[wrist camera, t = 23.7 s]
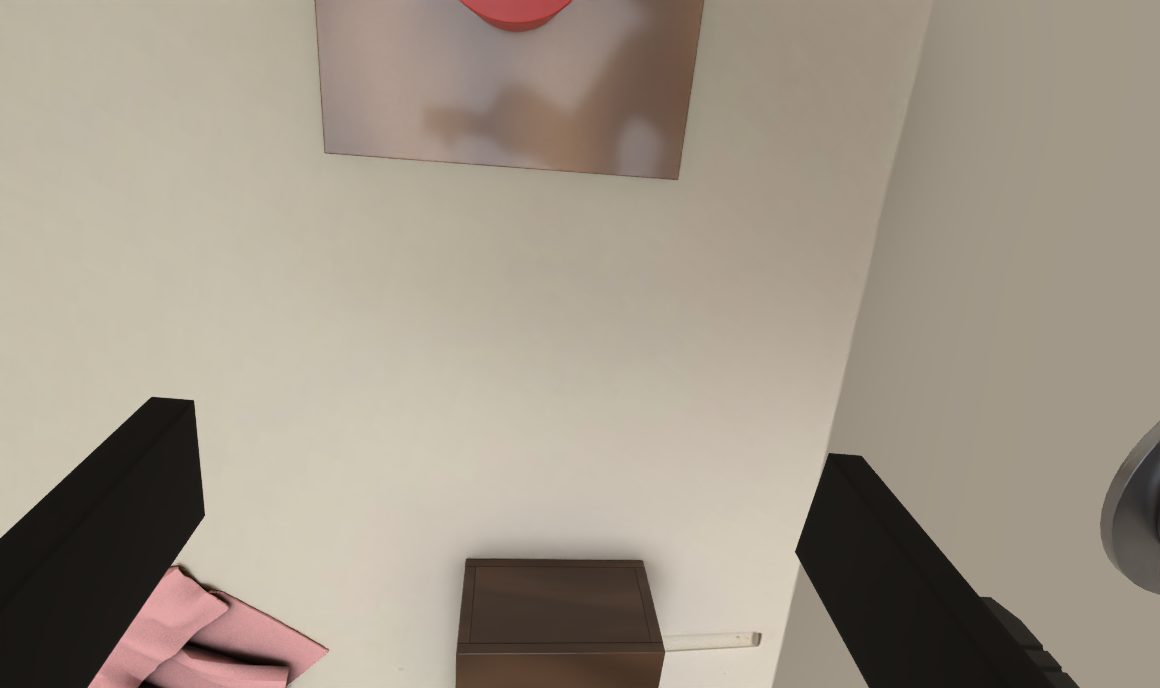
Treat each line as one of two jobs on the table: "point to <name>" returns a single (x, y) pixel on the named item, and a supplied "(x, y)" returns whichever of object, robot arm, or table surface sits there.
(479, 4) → the red cylinder white end
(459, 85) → the brown wooden square board
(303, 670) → the cloth
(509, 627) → the cabinet
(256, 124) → the table surface
